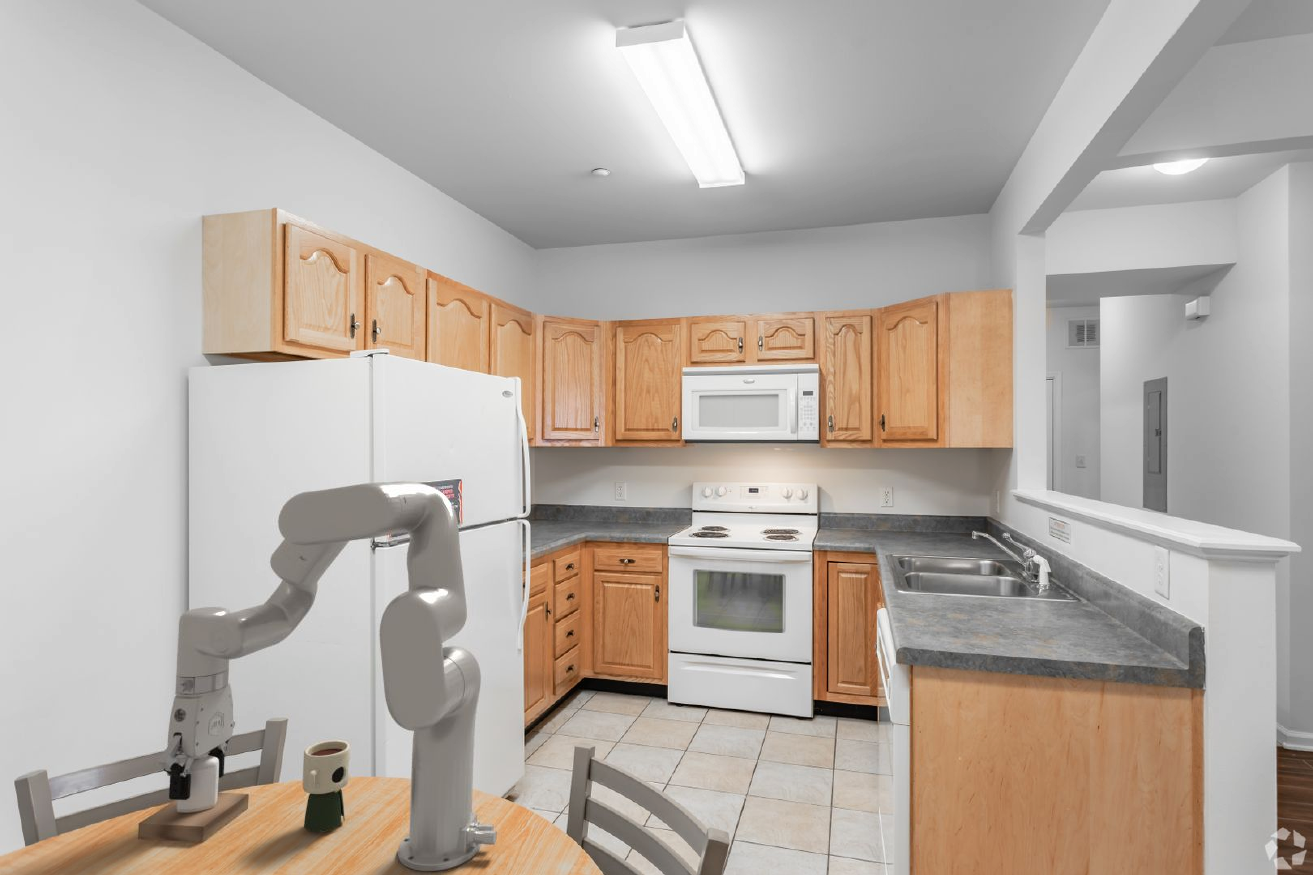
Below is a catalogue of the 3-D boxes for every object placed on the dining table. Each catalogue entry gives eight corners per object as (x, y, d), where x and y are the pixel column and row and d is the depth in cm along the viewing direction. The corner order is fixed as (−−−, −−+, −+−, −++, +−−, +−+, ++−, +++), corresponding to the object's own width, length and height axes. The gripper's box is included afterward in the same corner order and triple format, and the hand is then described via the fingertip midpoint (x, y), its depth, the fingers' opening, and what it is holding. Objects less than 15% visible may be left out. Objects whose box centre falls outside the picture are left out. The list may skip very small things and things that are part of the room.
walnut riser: (248, 808, 120) (248, 793, 120) (202, 842, 109) (203, 826, 109) (188, 805, 120) (189, 790, 120) (137, 838, 109) (138, 823, 109)
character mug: (329, 844, 109) (333, 762, 109) (285, 843, 109) (289, 761, 109) (359, 810, 120) (362, 735, 120) (319, 809, 120) (322, 735, 120)
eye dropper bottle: (201, 815, 112) (205, 742, 113) (171, 812, 113) (175, 739, 113) (222, 802, 116) (225, 732, 117) (192, 800, 117) (196, 729, 118)
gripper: (185, 699, 107) (179, 814, 106) (256, 667, 124) (251, 766, 123) (140, 698, 107) (133, 812, 106) (217, 666, 124) (212, 764, 124)
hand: (197, 786), depth 115 cm, fingers open, 7 cm apart
